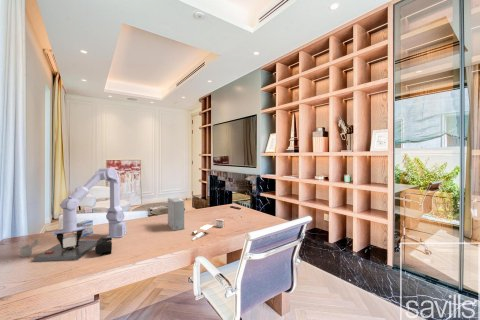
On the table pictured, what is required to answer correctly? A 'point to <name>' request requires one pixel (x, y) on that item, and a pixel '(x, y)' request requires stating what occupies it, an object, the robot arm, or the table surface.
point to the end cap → (103, 246)
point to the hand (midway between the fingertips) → (70, 246)
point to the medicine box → (89, 227)
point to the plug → (69, 241)
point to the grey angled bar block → (27, 249)
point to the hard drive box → (176, 213)
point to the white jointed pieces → (218, 224)
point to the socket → (67, 252)
